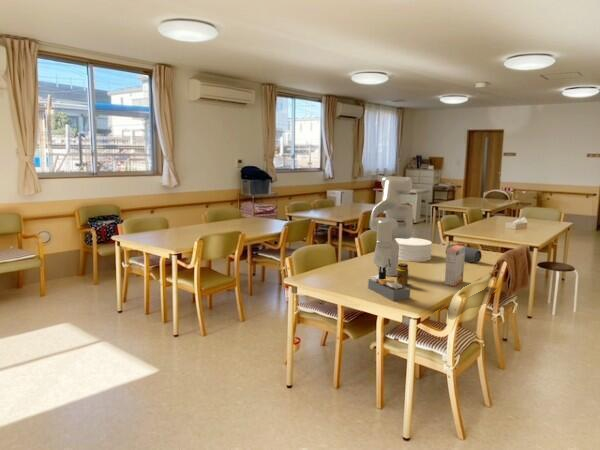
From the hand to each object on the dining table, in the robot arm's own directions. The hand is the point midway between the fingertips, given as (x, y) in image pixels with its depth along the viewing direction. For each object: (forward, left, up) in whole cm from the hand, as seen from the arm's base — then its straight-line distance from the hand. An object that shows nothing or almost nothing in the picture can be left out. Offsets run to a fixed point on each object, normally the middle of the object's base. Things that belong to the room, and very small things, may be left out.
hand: (382, 278), depth 235 cm
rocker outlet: (-2, +7, -2) cm, 8 cm away
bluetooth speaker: (-97, -45, -8) cm, 107 cm away
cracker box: (-51, -3, -8) cm, 52 cm away
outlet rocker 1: (-2, -7, -2) cm, 7 cm away
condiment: (-21, -10, -8) cm, 25 cm away
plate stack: (-69, -67, -9) cm, 97 cm away
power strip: (-4, 0, -8) cm, 9 cm away
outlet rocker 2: (-2, 0, -2) cm, 3 cm away
